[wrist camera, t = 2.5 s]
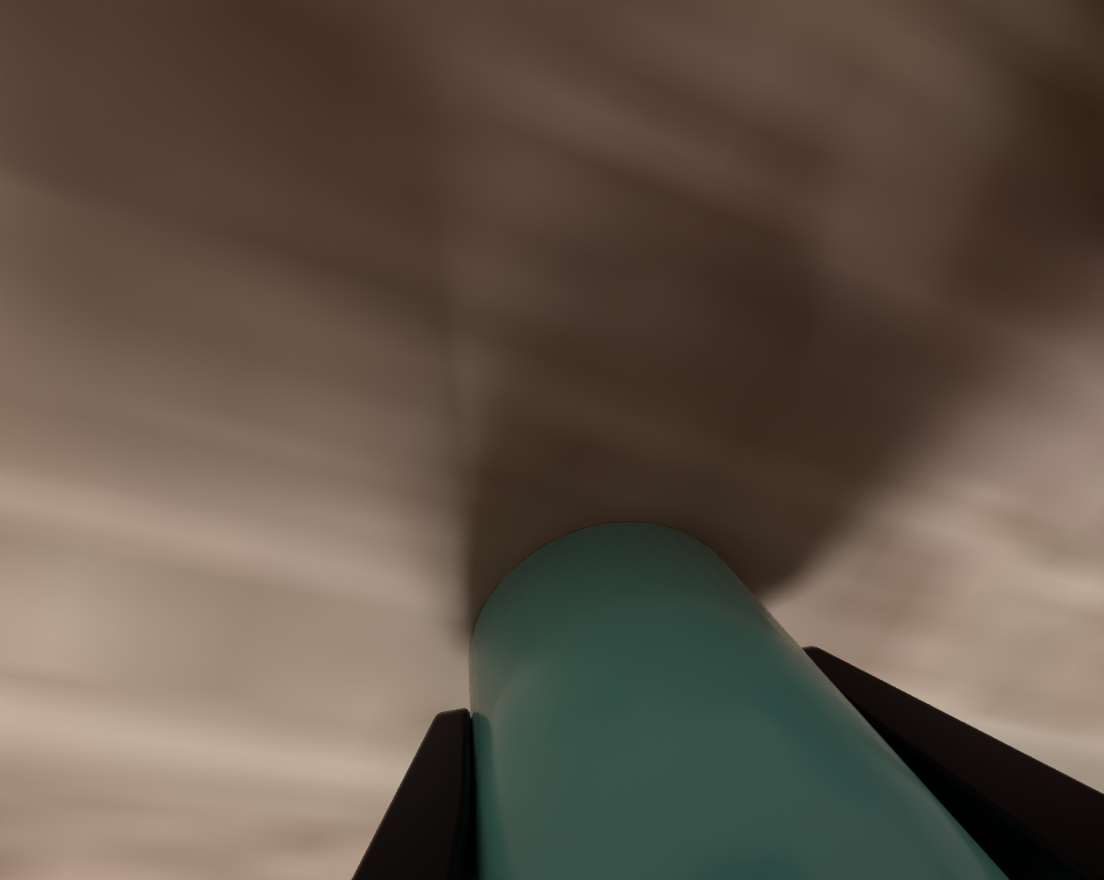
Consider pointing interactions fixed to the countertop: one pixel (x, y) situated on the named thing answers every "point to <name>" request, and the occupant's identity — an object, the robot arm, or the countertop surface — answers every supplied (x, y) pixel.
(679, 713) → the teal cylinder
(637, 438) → the countertop surface
